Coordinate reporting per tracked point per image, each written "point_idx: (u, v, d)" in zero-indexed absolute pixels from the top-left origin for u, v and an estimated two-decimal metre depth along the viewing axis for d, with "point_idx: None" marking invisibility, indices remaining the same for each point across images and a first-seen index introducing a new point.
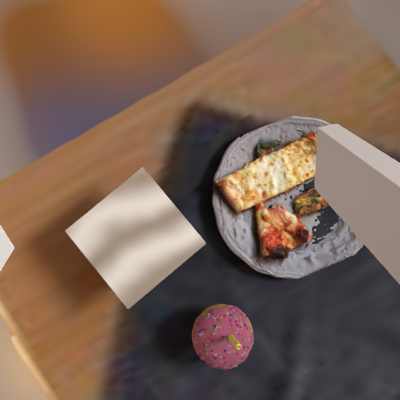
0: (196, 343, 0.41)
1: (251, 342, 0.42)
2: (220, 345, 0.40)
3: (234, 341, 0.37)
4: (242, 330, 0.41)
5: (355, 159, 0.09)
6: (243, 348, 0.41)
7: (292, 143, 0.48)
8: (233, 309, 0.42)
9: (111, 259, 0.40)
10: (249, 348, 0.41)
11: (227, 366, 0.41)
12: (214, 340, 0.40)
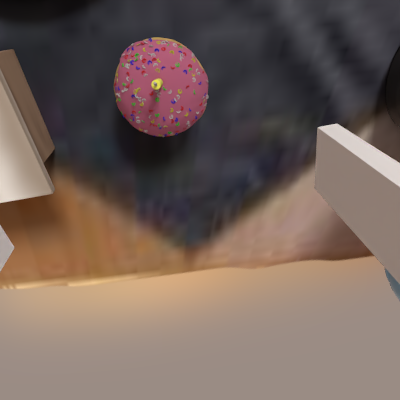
0: (148, 131, 0.28)
1: (188, 55, 0.26)
2: (162, 104, 0.26)
3: None
4: (162, 58, 0.25)
5: (355, 159, 0.09)
6: (186, 73, 0.26)
7: None
8: (129, 52, 0.25)
9: None
10: (194, 64, 0.26)
11: (198, 109, 0.28)
12: (151, 108, 0.26)
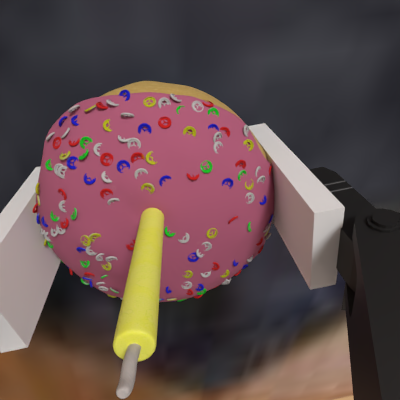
0: None
1: (236, 134, 0.09)
2: (163, 264, 0.09)
3: (123, 299, 0.06)
4: (161, 153, 0.08)
5: (266, 154, 0.11)
6: (231, 186, 0.09)
7: None
8: (65, 130, 0.09)
9: None
10: (250, 155, 0.09)
11: (253, 251, 0.11)
12: None
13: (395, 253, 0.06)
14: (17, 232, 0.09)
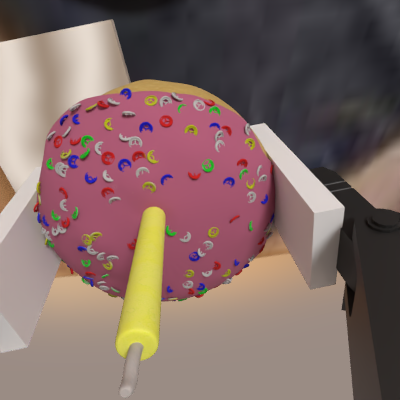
0: None
1: (237, 132, 0.09)
2: (164, 263, 0.09)
3: (126, 298, 0.06)
4: (162, 152, 0.08)
5: None
6: (232, 185, 0.09)
7: None
8: (66, 128, 0.09)
9: None
10: (252, 154, 0.09)
11: (255, 250, 0.11)
12: None
13: (395, 253, 0.06)
14: (17, 232, 0.09)
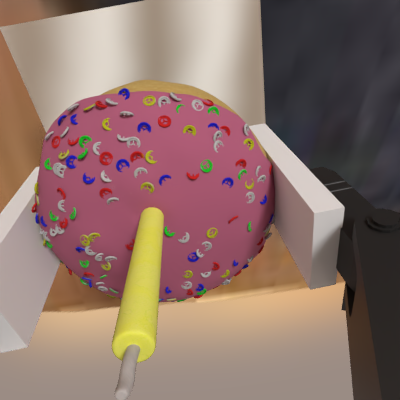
0: None
1: (236, 133, 0.09)
2: (163, 264, 0.09)
3: (123, 300, 0.06)
4: (160, 152, 0.08)
5: (266, 154, 0.11)
6: (231, 186, 0.09)
7: None
8: (64, 128, 0.09)
9: None
10: (251, 154, 0.09)
11: (254, 250, 0.11)
12: None
13: (395, 253, 0.06)
14: (17, 232, 0.09)
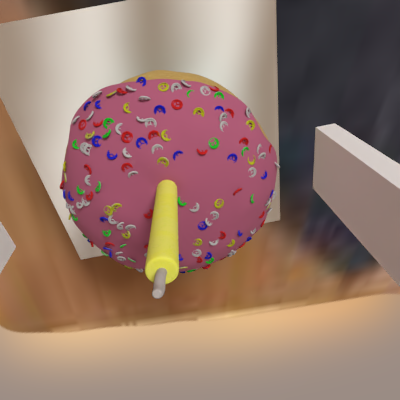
0: (145, 269, 0.13)
1: (239, 115, 0.10)
2: None
3: None
4: (174, 131, 0.09)
5: (353, 159, 0.10)
6: (235, 161, 0.10)
7: None
8: (89, 113, 0.10)
9: None
10: (252, 134, 0.10)
11: (256, 223, 0.12)
12: None
13: None
14: None
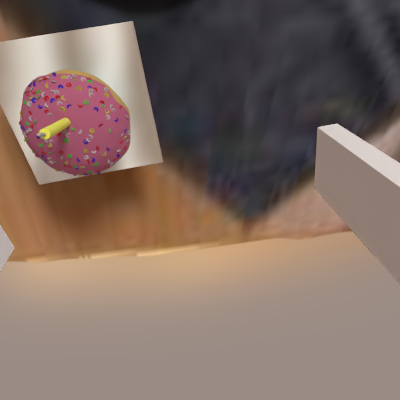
0: (65, 171, 0.26)
1: (100, 90, 0.23)
2: (73, 144, 0.23)
3: None
4: (67, 96, 0.22)
5: (355, 159, 0.09)
6: (97, 111, 0.23)
7: None
8: (31, 88, 0.22)
9: None
10: (107, 99, 0.23)
11: (119, 146, 0.25)
12: (62, 149, 0.23)
13: None
14: None
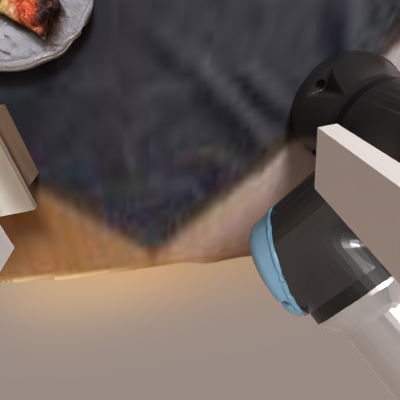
0: None
1: None
2: None
3: None
4: None
5: (355, 159, 0.09)
6: None
7: None
8: None
9: None
10: None
11: None
12: None
13: None
14: None
